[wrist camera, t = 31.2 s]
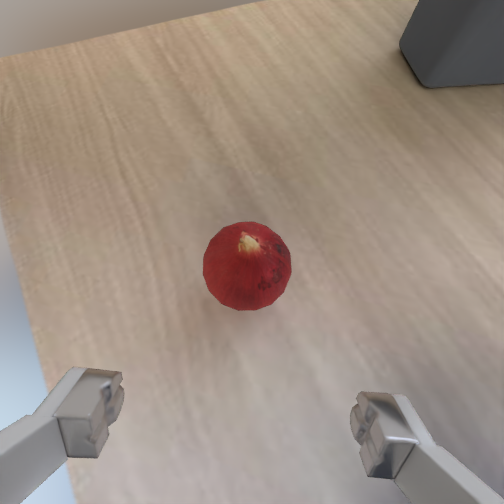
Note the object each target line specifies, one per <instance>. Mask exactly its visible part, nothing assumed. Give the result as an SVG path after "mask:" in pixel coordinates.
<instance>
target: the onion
mask: <svg viewBox="0 0 504 504" xmlns="http://www.w3.org/2000/svg"><path fill="white" fill-rule="evenodd" d="M203 276H204V278H205V281H206V284H207V287H208V289H209V291H210V292H211V293H212V294H213V295H214V297H215V298H216V299H217V300H218V301H219V302H220V303H221V304H223V305H225V306H228V307H231V308H233V309H236V310H238V311H239V310H257V309H260V308H263V307H265V306H268V305H271V304H272V303H273V302H274V301H275V300H276V299H277V298H278V297H279V296H280V295H281V294H282V293H284V290H285V288H286V286H287V283H288V281H289V278H290V276H291V258H290V252H289V250H288V248H287V247H286V245H285V243H284V242H283V240H282V239H281V237H280V236H279V235H277V234H276V233H275V232H273V231H272V230H271V229H269V228H268V227H267V226H265V225H262V224H259V223H255V222H239V223H236V224H233V225H230V226H227V227H224V228H223V229H222V230H221V231H219V232H218V233H217V234H216V235H215V236H214V237H213V238H212V239H211V240H210V243H209V245H208V247H207V249H206V252H205V254H204V258H203Z"/></svg>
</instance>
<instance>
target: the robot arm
mask: <svg viewBox="0 0 504 504" xmlns="http://www.w3.org/2000/svg"><path fill="white" fill-rule="evenodd" d="M122 380H123V378H122V372H118V371H109V370H100V369H91V368H80V367H72V368H71V369H70V370H68V371H67V372H66V373H65V375H64V376H63V377H62V378H61V380H60V381H59V382H58V383H57V385H56V386H55V387H54V388H53V390H52V391H51V392H50V393H49V394H48V396H47V397H46V398H45V399H44V401H43V402H42V403H41V404H40V406H39V407H38V408H37V409H36V411H35V412H34V413H33V414H32V415H26V416H24V417H23V418H21V419H20V420H18V421H16V422H14V423H13V424H11V425H10V426H8V427H6V428H5V429H3V430H1V431H0V504H20V503H21V502H22V501H23V500H24V499H26V497H28V496H29V495H30V494H31V493H32V492H33V491H34V490H35V489H36V488H37V487H39V485H41V484H42V483H43V482H44V481H45V480H46V479H47V478H48V477H49V476H50V475H51V474H52V473H54V472H55V471H56V470H57V469H58V468H59V467H60V466H61V465H62V464H63V463H64V462H66V461H67V460H68V458H67V457H72V458H98V457H99V455H100V453H101V451H102V448H103V446H104V444H105V442H106V440H107V438H108V436H109V430H108V426H110V425H111V424H112V423H113V422H115V421H116V420H117V418H118V415H119V413H120V411H121V408H122V405H123V401H124V388H123V387H122V386H121V385H120V383H121V382H122ZM356 400H357V402H358V404H357V405H355V406H354V407H352V410H351V413H350V425H351V430H352V433H353V436H354V438H355V440H356V441H357V442H358V443H359V444H360V445H361V449H360V452H359V453H360V456H361V459H362V462H363V465H364V468H365V470H366V473H367V476H368V477H375V478H385V479H395V480H394V482H395V483H396V484H397V486H398V487H399V488H400V489H401V491H402V492H403V493H404V494H405V496H406V497H407V498H408V499H409V501H410V502H411V503H412V504H504V499H503V498H502V497H501V496H500V495H499V494H497V493H496V492H495V491H494V490H493V489H492V488H490V487H489V486H488V485H487V484H486V483H485V482H483V481H482V480H481V479H480V478H479V477H477V476H476V475H475V474H474V473H473V472H472V471H470V470H469V469H468V468H467V467H466V466H465V465H463V464H462V463H461V462H460V461H459V460H457V459H456V458H455V457H454V456H453V455H452V454H450V453H449V452H448V451H447V450H446V449H445V448H443V447H442V446H437V445H436V443H435V441H434V440H433V438H432V436H431V435H430V433H429V432H428V430H427V428H426V427H425V425H424V424H423V422H422V420H421V419H420V417H419V415H418V414H417V412H416V411H415V409H414V407H413V406H412V404H411V402H410V401H409V399H408V398H407V397H406V396H405V395H399V394H388V393H377V392H362V391H361V392H360V393H358V395H357V398H356Z"/></svg>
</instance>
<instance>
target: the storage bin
mask: <svg viewBox="0 0 504 504" xmlns="http://www.w3.org/2000/svg"><path fill="white" fill-rule="evenodd" d="M399 46H400V49H401V51H402V52H403V54H404V56H405V57H406V59H407V61H408V62H409V64H410V66H411V68H412V69H413V71H414V72H415V74H416V76H417V77H418V79H419V80H420V82H421V83H422V85H424V86H426V87H429V88H435V87H450V86H465V85H484V84H504V0H419V2H418V4H417V6H416V8H415V10H414V12H413V14H412V16H411V18H410V20H409V22H408V25H407V27H406V29H405V31H404V33H403V35H402V37H401V39H400V42H399Z"/></svg>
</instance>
